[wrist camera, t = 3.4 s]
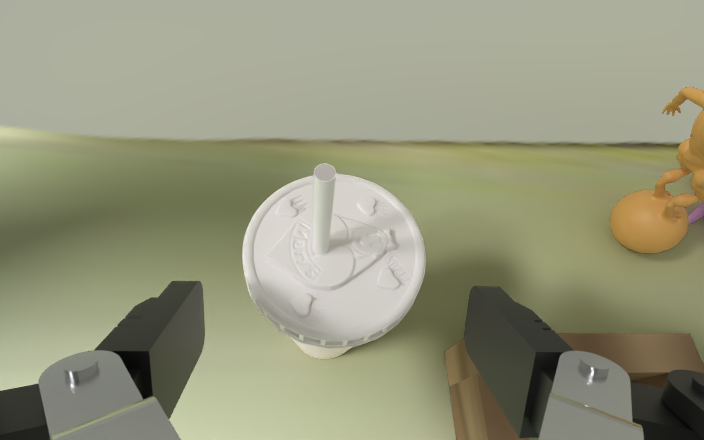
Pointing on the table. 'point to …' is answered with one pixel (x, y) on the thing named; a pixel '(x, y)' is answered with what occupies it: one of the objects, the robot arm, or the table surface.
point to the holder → (623, 349)
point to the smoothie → (333, 261)
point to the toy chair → (696, 213)
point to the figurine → (664, 194)
